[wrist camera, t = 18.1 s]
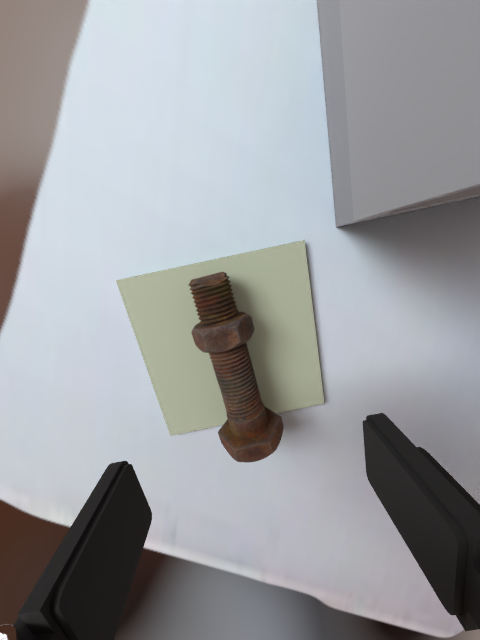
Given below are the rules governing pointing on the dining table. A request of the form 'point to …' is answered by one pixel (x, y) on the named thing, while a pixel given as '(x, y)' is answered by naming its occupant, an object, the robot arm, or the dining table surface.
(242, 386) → the bolt
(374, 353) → the dining table surface
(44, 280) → the dining table surface
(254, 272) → the mat
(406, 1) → the case
